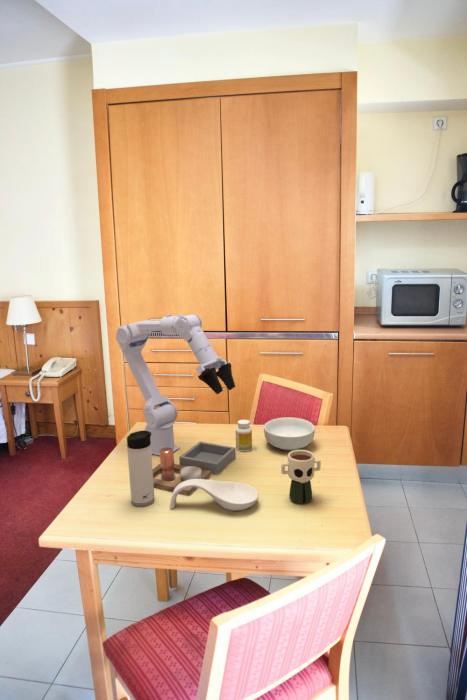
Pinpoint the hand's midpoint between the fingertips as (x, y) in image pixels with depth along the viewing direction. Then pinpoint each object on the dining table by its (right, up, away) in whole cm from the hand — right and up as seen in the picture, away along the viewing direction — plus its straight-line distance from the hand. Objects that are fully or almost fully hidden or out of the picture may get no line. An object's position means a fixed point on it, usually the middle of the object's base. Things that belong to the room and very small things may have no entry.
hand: (226, 390), depth 156 cm
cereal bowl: (+21, -21, +24) cm, 38 cm away
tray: (-6, -24, +13) cm, 28 cm away
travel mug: (-23, -30, -9) cm, 38 cm away
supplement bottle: (+6, -21, +23) cm, 32 cm away
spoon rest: (-3, -30, -12) cm, 33 cm away
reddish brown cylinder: (-17, -26, +4) cm, 32 cm away
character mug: (+20, -29, -10) cm, 37 cm away
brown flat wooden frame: (-15, -27, +2) cm, 31 cm away
